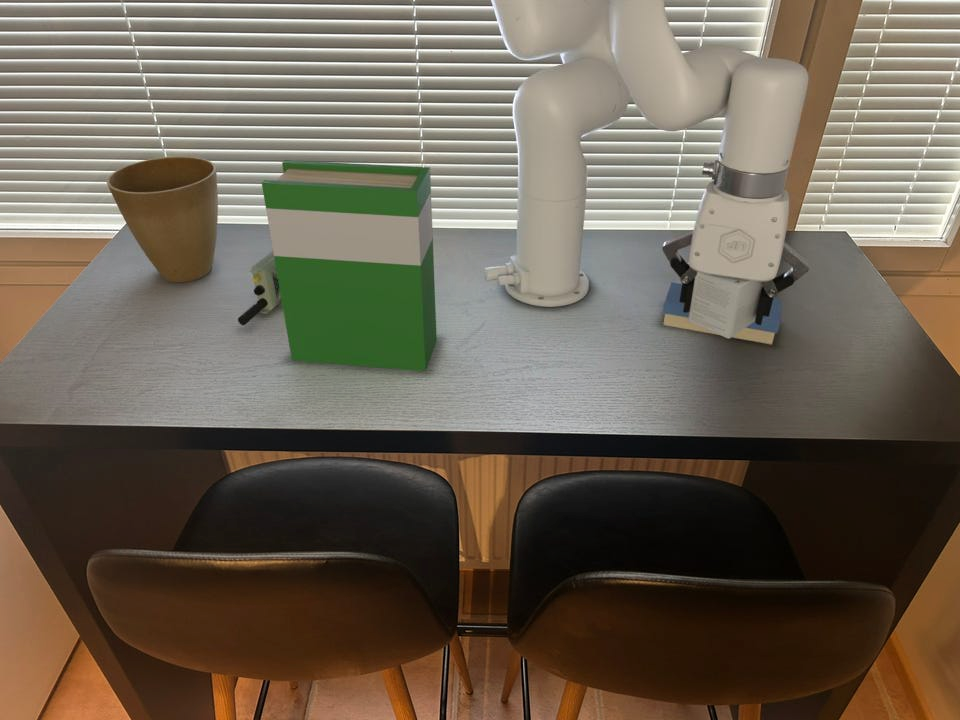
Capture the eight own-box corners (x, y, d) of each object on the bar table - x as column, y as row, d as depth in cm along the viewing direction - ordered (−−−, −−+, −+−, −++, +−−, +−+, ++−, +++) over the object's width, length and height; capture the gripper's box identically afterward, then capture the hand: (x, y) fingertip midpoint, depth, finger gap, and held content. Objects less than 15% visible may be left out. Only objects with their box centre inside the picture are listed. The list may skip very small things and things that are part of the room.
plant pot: (248, 251, 124) (230, 156, 115) (214, 297, 112) (191, 194, 102) (160, 248, 125) (135, 153, 116) (117, 292, 113) (85, 190, 103)
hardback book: (291, 360, 98) (261, 183, 84) (310, 330, 104) (284, 160, 90) (425, 371, 96) (416, 191, 82) (436, 339, 102) (430, 167, 88)
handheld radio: (339, 253, 123) (254, 331, 104) (321, 251, 124) (233, 328, 105) (333, 215, 119) (244, 288, 100) (315, 213, 120) (222, 285, 101)
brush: (660, 325, 105) (664, 302, 103) (667, 305, 110) (671, 281, 108) (774, 346, 101) (780, 321, 99) (776, 323, 105) (782, 300, 103)
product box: (755, 323, 95) (767, 270, 91) (728, 341, 91) (740, 287, 87) (713, 304, 99) (723, 253, 94) (685, 321, 95) (694, 269, 91)
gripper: (665, 180, 84) (647, 316, 94) (834, 200, 79) (795, 341, 89) (675, 158, 90) (657, 288, 100) (833, 176, 85) (797, 311, 95)
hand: (722, 312), depth 94 cm, fingers closed on product box, 8 cm apart
